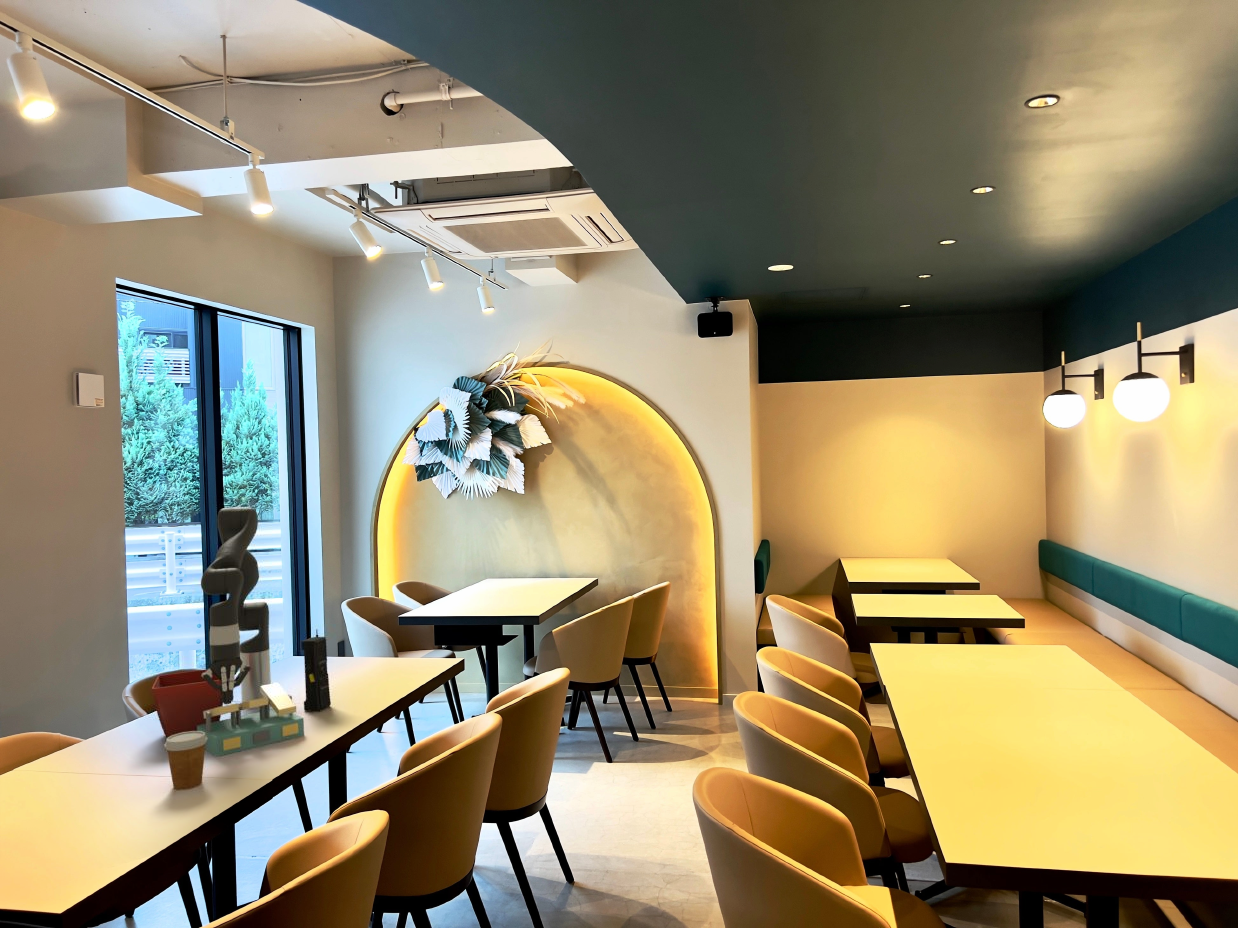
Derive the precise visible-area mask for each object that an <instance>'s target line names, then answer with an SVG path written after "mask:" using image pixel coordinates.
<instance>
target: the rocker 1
mask: <svg viewBox="0 0 1238 928" xmlns="http://www.w3.org/2000/svg"><path fill="white" fill-rule="evenodd" d="M238 704H239V702H238V703H231V704H226V705H223V706H222V707H217V708H214V709H210V710H206V711H203V714H204V718H206V712H210V713H211V717H213V716H218V715H221V716H223V715H226V714H231V712H235V711H239V708H238Z"/></svg>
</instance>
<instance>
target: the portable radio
mask: <svg viewBox="0 0 1238 928" xmlns="http://www.w3.org/2000/svg"><path fill="white" fill-rule="evenodd" d="M315 631H316V632H315V633H316V635H315V636H313V637H309V638H307V639H303V640H302V641H301V642H300V644H301V645H300V647H301V650H302V651H303V654H304V657H303V658H304V659H303V660H304V678H305V679H304V682H305V686H304V687H305V700H304V701H303V710H304V712H313V713H314V712H319V713H320V712H321V711H323V710H325V709H326V708H329V707H330V706H331V705H332V704H331V694H330V693H331V692H330V682H329V681H330V679H329V673H328V655H327V653H328V652H327V638H326V636H319V634H318V629H315Z"/></svg>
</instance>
